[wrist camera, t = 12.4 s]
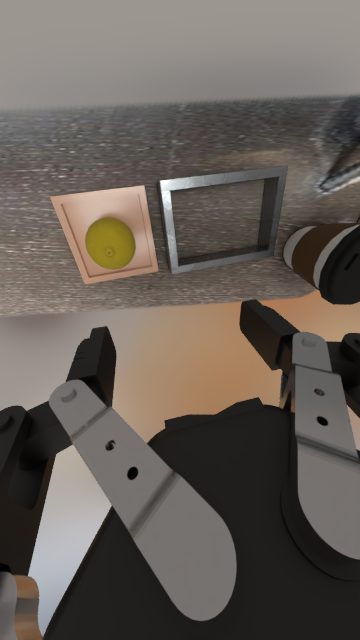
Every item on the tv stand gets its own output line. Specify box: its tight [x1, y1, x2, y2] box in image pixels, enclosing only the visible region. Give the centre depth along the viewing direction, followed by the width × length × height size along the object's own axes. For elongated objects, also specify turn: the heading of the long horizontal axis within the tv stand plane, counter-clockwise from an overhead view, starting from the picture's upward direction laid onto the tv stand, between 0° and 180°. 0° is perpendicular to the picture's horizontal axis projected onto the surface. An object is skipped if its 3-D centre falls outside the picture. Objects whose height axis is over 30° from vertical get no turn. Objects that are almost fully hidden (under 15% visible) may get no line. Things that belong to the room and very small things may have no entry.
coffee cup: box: [283, 223, 360, 304], centre depth 29 cm, size 11×11×12 cm
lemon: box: [85, 217, 136, 270], centre depth 23 cm, size 6×6×8 cm
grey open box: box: [157, 166, 288, 274], centre depth 27 cm, size 16×11×3 cm
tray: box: [50, 185, 159, 284], centre depth 26 cm, size 11×11×1 cm
